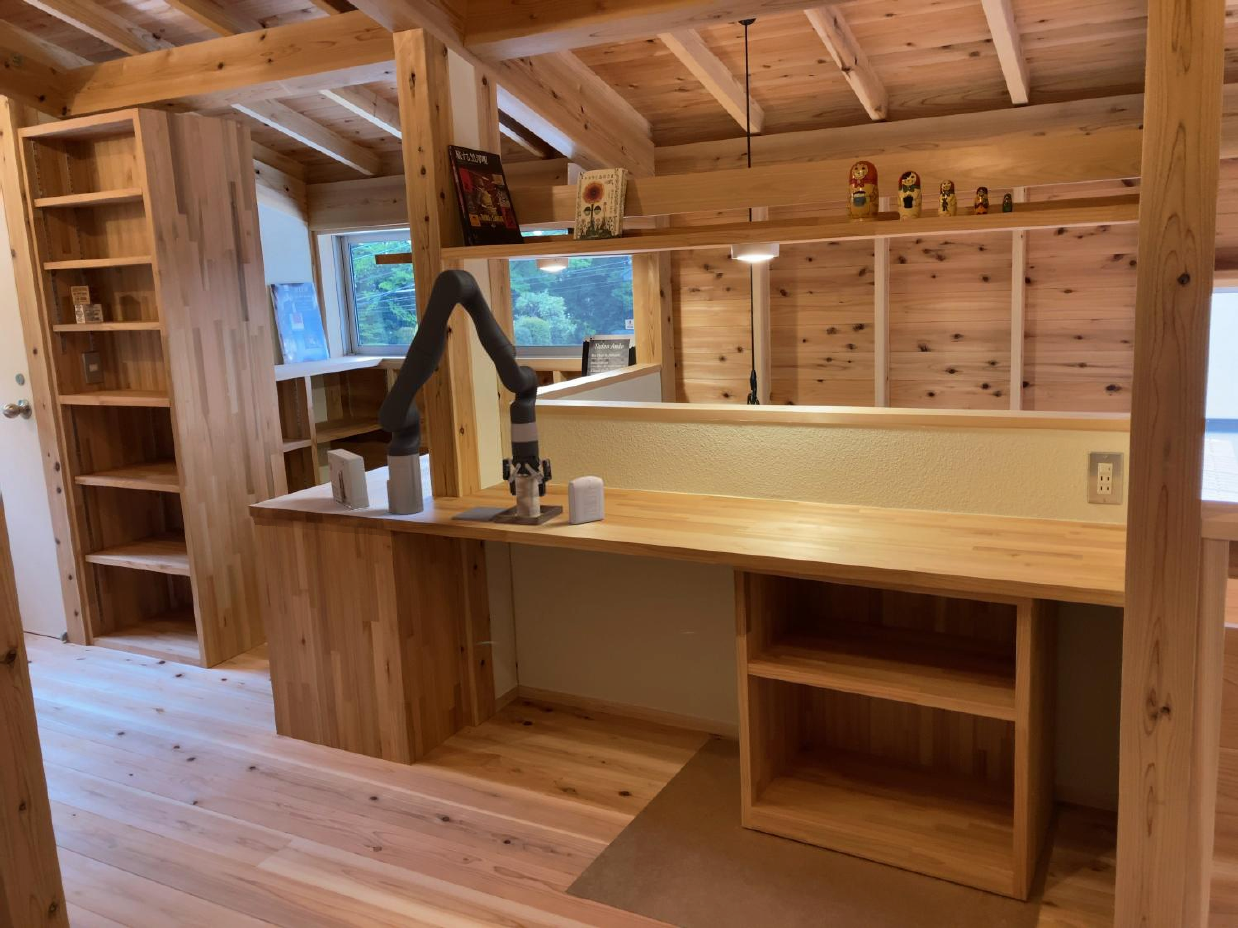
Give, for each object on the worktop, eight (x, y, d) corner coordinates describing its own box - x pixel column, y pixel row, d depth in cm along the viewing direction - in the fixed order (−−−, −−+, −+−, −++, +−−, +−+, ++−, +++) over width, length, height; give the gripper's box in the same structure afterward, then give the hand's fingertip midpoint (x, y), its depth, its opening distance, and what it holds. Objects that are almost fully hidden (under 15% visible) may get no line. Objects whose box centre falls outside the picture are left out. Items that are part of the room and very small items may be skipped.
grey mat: (451, 519, 272) (451, 517, 272) (477, 508, 284) (477, 506, 284) (488, 521, 267) (488, 519, 267) (512, 510, 280) (512, 508, 280)
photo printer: (598, 516, 268) (596, 473, 265) (607, 519, 264) (605, 475, 262) (566, 522, 262) (564, 478, 260) (575, 525, 259) (572, 480, 256)
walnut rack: (493, 522, 266) (493, 515, 266) (519, 510, 280) (519, 503, 279) (538, 525, 261) (538, 518, 260) (563, 512, 274) (562, 505, 274)
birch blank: (517, 519, 268) (515, 477, 266) (527, 514, 274) (525, 473, 271) (530, 520, 267) (527, 478, 264) (540, 515, 272) (537, 473, 270)
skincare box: (331, 499, 306) (326, 450, 303) (347, 497, 309) (343, 448, 306) (352, 510, 289) (347, 458, 286) (370, 507, 292) (365, 456, 289)
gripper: (495, 440, 265) (499, 497, 268) (541, 441, 260) (544, 499, 263) (508, 436, 272) (512, 492, 275) (553, 436, 267) (557, 493, 269)
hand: (528, 495), depth 269 cm, fingers open, 8 cm apart
